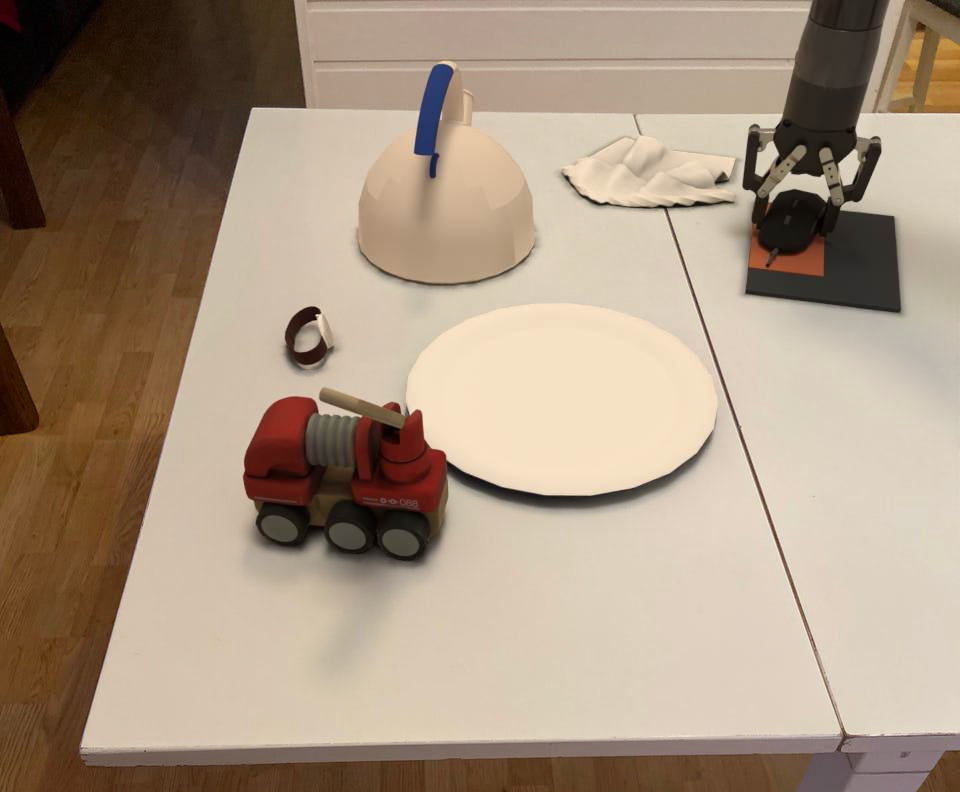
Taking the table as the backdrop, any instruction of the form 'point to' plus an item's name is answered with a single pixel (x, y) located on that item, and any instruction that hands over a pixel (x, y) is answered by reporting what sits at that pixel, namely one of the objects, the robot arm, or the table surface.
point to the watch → (324, 328)
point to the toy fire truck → (346, 475)
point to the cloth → (650, 175)
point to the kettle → (445, 196)
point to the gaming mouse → (791, 222)
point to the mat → (834, 265)
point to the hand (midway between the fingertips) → (790, 229)
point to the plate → (562, 399)
